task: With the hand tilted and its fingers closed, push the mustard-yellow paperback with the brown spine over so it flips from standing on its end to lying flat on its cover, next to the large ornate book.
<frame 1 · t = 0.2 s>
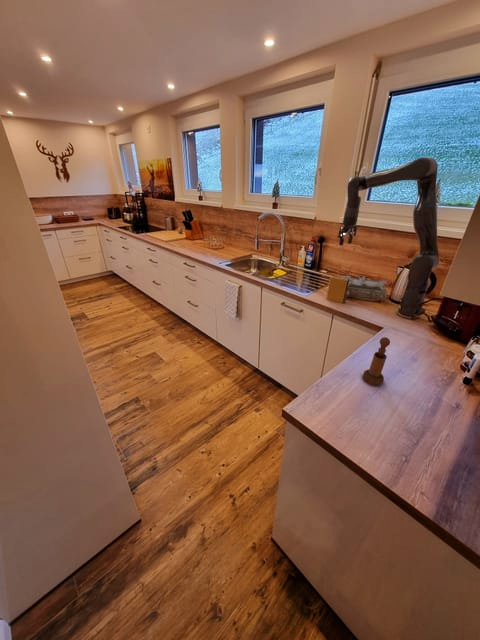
hand: (345, 244, 159), 29 cm above the worktop, tool pointing down, fingers open, 8 cm apart
paperback: (335, 300, 157), on the worktop
mortar and pestle: (372, 380, 95), on the worktop
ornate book: (362, 294, 166), on the worktop
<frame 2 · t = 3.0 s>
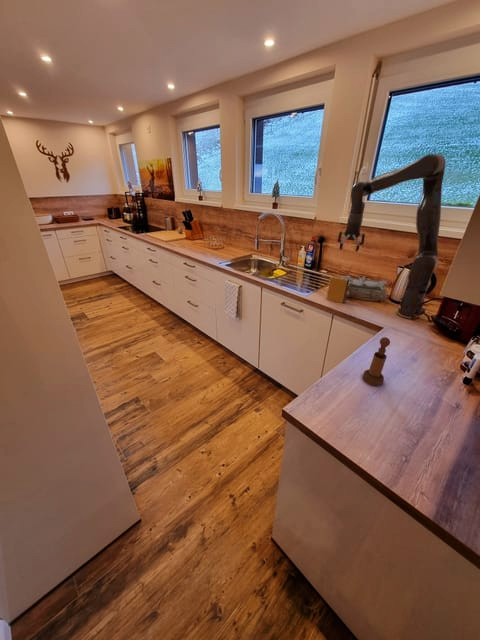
hand: (348, 250, 156), 27 cm above the worktop, tool pointing down, fingers open, 8 cm apart
nothing on the worktop moved.
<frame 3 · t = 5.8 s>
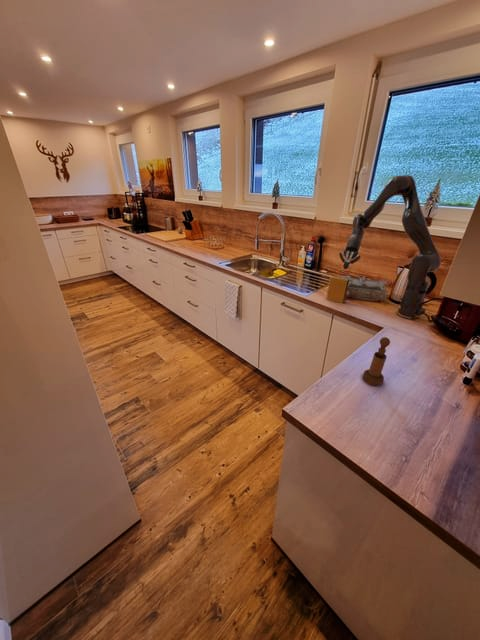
hand: (345, 268, 157), 17 cm above the worktop, tool tilted 45°, fingers closed
nothing on the worktop moved.
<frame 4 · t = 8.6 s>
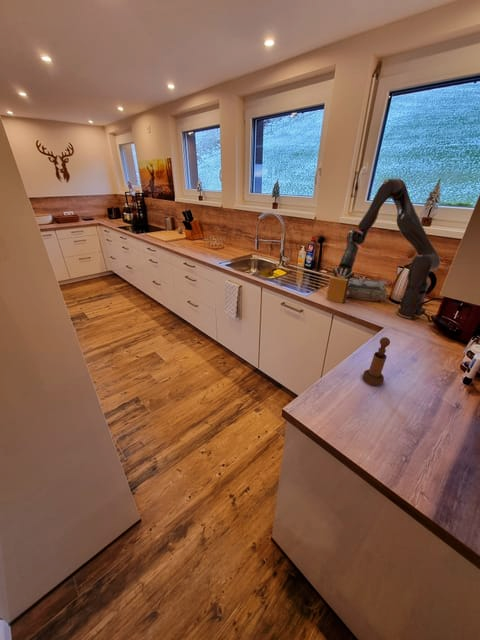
hand: (338, 285, 154), 9 cm above the worktop, tool tilted 45°, fingers closed
nothing on the worktop moved.
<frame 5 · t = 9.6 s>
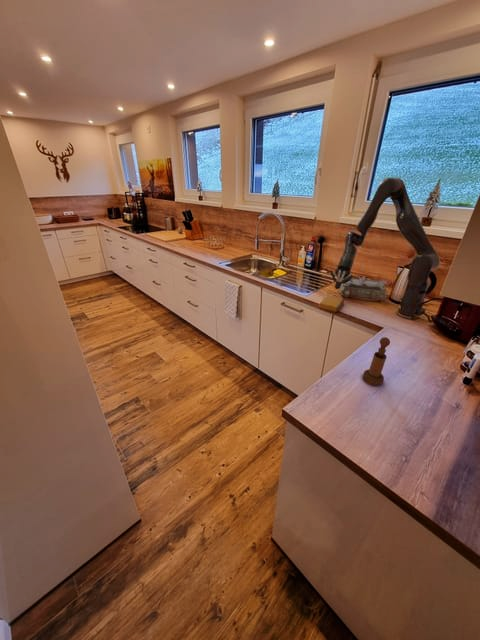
hand: (336, 288, 151), 9 cm above the worktop, tool tilted 45°, fingers closed
paperback: (334, 299, 155), point 2 cm above the worktop, tilted 90°
everything else where it was.
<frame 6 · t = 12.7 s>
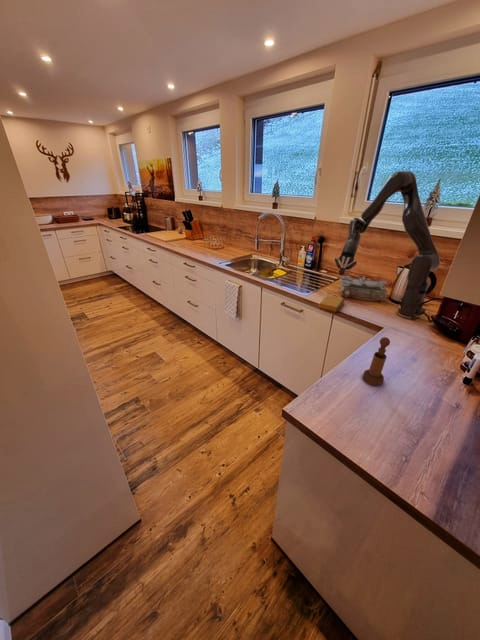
hand: (340, 274, 151), 16 cm above the worktop, tool tilted 45°, fingers closed
nothing on the worktop moved.
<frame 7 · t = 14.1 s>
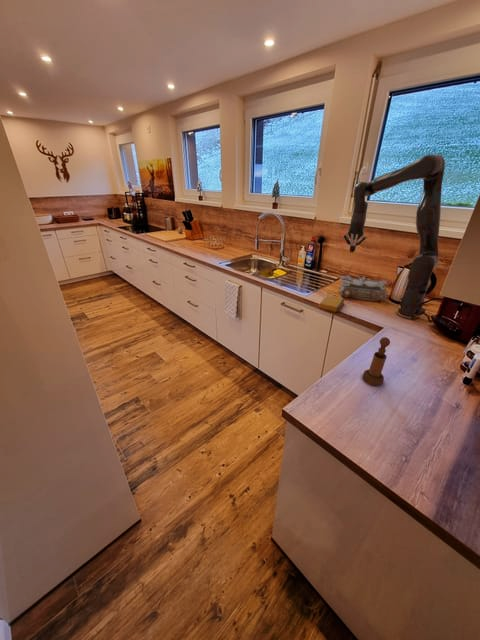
hand: (352, 252, 157), 26 cm above the worktop, tool pointing down, fingers closed
nothing on the worktop moved.
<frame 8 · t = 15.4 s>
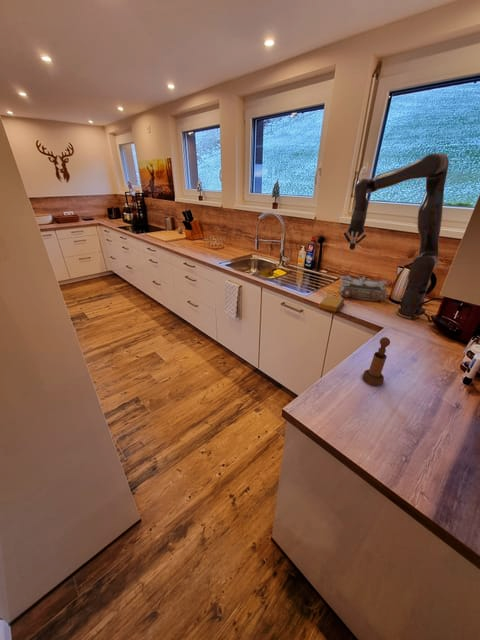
hand: (351, 249, 157), 27 cm above the worktop, tool pointing down, fingers closed
nothing on the worktop moved.
at the end: paperback tilted 90°; paperback point 1.5 cm above the worktop; the gripper is holding nothing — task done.
